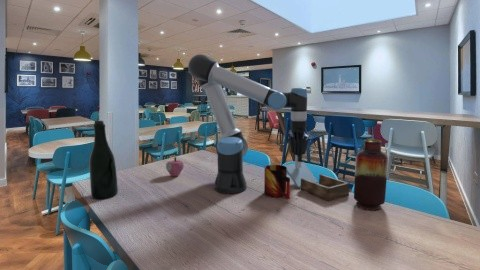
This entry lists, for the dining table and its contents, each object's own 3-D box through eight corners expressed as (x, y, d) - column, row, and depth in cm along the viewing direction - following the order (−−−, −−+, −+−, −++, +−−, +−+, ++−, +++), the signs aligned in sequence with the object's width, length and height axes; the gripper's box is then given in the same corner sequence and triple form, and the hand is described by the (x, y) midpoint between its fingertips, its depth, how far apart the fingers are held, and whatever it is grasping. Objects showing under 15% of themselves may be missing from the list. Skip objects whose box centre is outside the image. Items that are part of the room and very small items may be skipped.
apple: (164, 175, 147) (163, 157, 145) (178, 172, 153) (177, 155, 151) (172, 179, 140) (171, 160, 138) (187, 176, 146) (186, 158, 144)
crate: (300, 190, 123) (300, 178, 122) (320, 185, 130) (320, 174, 129) (328, 201, 110) (328, 188, 109) (348, 195, 116) (349, 183, 116)
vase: (347, 203, 108) (350, 139, 104) (367, 199, 112) (371, 137, 108) (369, 214, 98) (374, 143, 94) (391, 209, 102) (396, 141, 98)
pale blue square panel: (283, 166, 132) (284, 165, 132) (302, 163, 139) (303, 161, 139) (297, 187, 125) (298, 186, 124) (317, 183, 132) (318, 182, 131)
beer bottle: (122, 195, 118) (116, 120, 113) (96, 201, 111) (89, 122, 106) (112, 189, 125) (107, 119, 120) (87, 195, 118) (81, 120, 113)
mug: (288, 202, 110) (289, 173, 108) (260, 194, 118) (260, 168, 116) (298, 195, 117) (299, 168, 115) (271, 188, 125) (271, 163, 124)
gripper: (314, 120, 126) (313, 169, 129) (295, 119, 137) (294, 164, 140) (302, 121, 122) (301, 171, 126) (284, 119, 133) (283, 166, 137)
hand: (298, 167), depth 133 cm, fingers closed
